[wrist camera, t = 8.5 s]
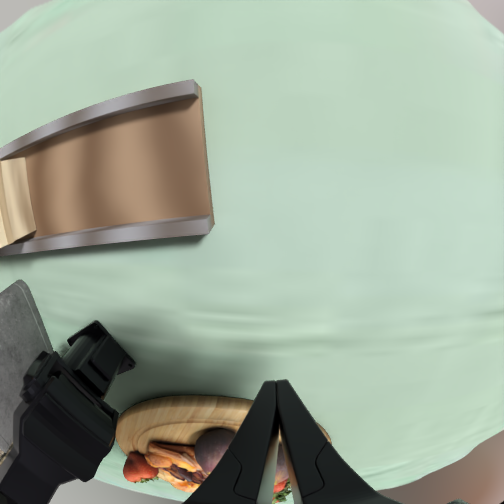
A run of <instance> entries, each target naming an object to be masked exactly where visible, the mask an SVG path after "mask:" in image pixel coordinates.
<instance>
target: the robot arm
mask: <svg viewBox="0 0 504 504" xmlns="http://www.w3.org/2000/svg"><path fill="white" fill-rule="evenodd" d="M96 325H97V326H96ZM67 342H68V343H69V345H70V346H71V348H70V349H69V350H68V351H67V353H66V354H65V355H64V357H63V358H62V359H61V358H60V357H59V354H58V353H57V352H56V351H55V352H53V353H52V354H50V353H47V352H45V351H42V352H41V353H40V354H39V355H38V356H37V357H36V359H35V360H34V361H33V362H32V364H31V365H30V367H29V368H28V370H27V372H26V373H25V375H24V377H23V386H22V389H21V392H20V394H19V396H20V397H21V398H22V399H23V400H22V401H21V403H20V404H19V405H18V407H17V408H16V410H15V411H14V413H13V447H12V449H11V450H10V452H9V453H8V455H7V457H6V458H5V460H4V461H3V463H2V464H1V466H0V504H49V502H50V500H51V499H52V497H53V495H54V493H55V492H56V490H57V488H58V487H59V486H60V485H61V484H64V483H67V482H70V481H73V480H76V479H80V480H81V481H83V482H87V481H89V480H90V479H92V478H93V477H94V475H95V473H96V471H97V469H98V467H99V465H100V463H101V461H102V460H103V458H104V457H105V456H106V455H107V454H108V453H109V452H110V451H111V449H112V447H113V445H114V441H115V435H116V428H117V421H118V415H119V413H118V412H117V411H116V410H115V409H113V408H111V407H110V406H109V405H108V404H107V403H106V402H104V401H103V400H104V398H105V396H106V394H107V392H108V390H109V389H110V387H111V385H112V383H113V381H114V379H115V377H116V375H118V374H121V373H123V372H126V371H128V370H131V369H133V368H134V367H135V365H136V363H135V362H134V360H133V359H132V358H131V357H130V356H129V355H128V354H127V353H126V352H125V351H124V350H123V349H122V348H121V347H120V345H119V344H118V343H117V342H116V341H115V340H114V339H113V338H112V337H111V335H110V334H109V333H108V332H107V331H106V330H105V328H104V327H103V326H102V325H101V324H100V323H99V322H98V321H96V320H95V321H93V322H92V323H90V324H89V325H87V326H86V327H84V328H83V329H81V330H80V331H78V332H77V333H75V334H74V335H72V336H71V337H69V338H68V340H67ZM279 429H280V437H281V442H282V447H283V451H284V456H285V461H286V466H287V471H288V476H289V480H290V485H291V490H292V495H293V499H294V504H403V503H401V502H398V501H395V500H393V499H390V498H388V497H386V496H383V495H381V494H380V493H378V492H377V491H375V490H374V489H373V488H372V487H371V486H369V485H368V484H367V483H366V482H365V481H364V480H363V479H362V478H361V477H360V476H359V475H358V474H357V473H356V472H355V471H354V470H353V469H352V468H351V467H350V466H349V465H348V464H347V463H346V462H345V461H344V460H343V459H342V458H341V456H340V455H339V454H338V452H337V451H336V450H335V449H334V447H333V446H332V444H331V443H330V442H329V441H328V439H327V437H326V436H325V434H324V433H323V432H322V430H321V429H320V427H319V426H318V424H317V423H316V421H315V420H314V418H313V417H312V416H311V414H310V413H309V411H308V410H307V408H306V407H305V405H304V404H303V402H302V401H301V399H300V398H299V396H298V395H297V393H296V392H295V390H294V389H293V387H292V386H291V384H290V383H289V381H288V380H287V379H283V380H277V381H274V380H272V381H265V382H264V383H263V385H262V387H261V389H260V391H259V392H258V394H257V396H256V398H255V400H254V402H253V404H252V405H251V407H250V409H249V411H248V413H247V415H246V416H245V418H244V420H243V422H242V424H241V425H240V427H239V429H238V431H237V432H236V434H235V436H234V438H233V439H232V441H231V443H230V444H229V446H228V449H226V451H225V453H224V454H223V456H222V458H221V459H220V461H219V462H218V464H217V465H216V466H215V468H214V469H213V470H212V472H211V473H210V474H209V475H208V477H207V478H206V479H205V480H204V481H203V482H202V483H201V485H200V486H199V487H198V488H197V489H196V490H195V491H194V492H193V493H192V495H191V496H190V497H189V498H188V499H187V500H186V501H185V502H184V503H182V504H272V499H273V491H274V482H275V473H276V464H277V455H278V444H279ZM447 504H469V503H467V502H465V501H463V500H461V499H457V500H454V501H452V502H449V503H447ZM500 504H504V501H503V502H501V503H500Z"/></svg>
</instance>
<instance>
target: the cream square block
mask: <svg viewBox="0 0 504 504" xmlns="http://www.w3.org/2000/svg"><path fill="white" fill-rule="evenodd" d="M35 230H36V225H35V221H34V216H33V211H32V205H31V199H30V193H29V187H28V179H27V171H26V161H25V157H23V158H16V159H10V160H4V161H1V160H0V248H2V247H4V246H6V245H9V244H11V243H13V242H14V241H15V240H17V239H19V238H21V237H23V236H25V235H27V234H29V233H31V232H33V231H35Z"/></svg>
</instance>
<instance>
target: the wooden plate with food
mask: <svg viewBox="0 0 504 504" xmlns="http://www.w3.org/2000/svg"><path fill="white" fill-rule="evenodd" d="M253 402H254V401H253V400H246V399H240V398H231V397H222V396H201V395H185V396H168V397H161V398H156V399H152V400H147V401H144V402H141V403H139V404H136V405H134V406H132V407H130V408H128V409H127V410H126V411H125V412H123V413H122V414H121V416H120V417H119V418H118V421H117V428H116V435H115V436H116V440H117V442H118V444H119V446H120V448H121V449H122V451H123V452H124V453H125V454H126V455H127V456H128V458H127V459H126V462H125V465H124V468H123V474H124V477H125V478H126V479H127V480H128V481H131V482H134V483H136V482H141V483H143V482H146V481H149V480H153V479H157V480H158V478H160V479H163V480H165V481H167V482H170V483H171V485H172V486H173V487H175V488H177V489H179V490H183V491H185V492H194V491H195V490H196V489H197V488H198V487H199V486H200V485H201V483H202V482H203V481H204V480H205V479H206V478H207V477H208V475H209V474H210V473H211V472H212V470H213V469H214V468H215V466H216V465H217V464H218V462H219V461H220V459H221V458H222V456H223V454H224V453H225V451H226V449H228V446H229V444H230V443H231V441H232V439H233V438H234V436H235V434H236V432H237V431H238V429H239V427H240V425H241V424H242V422H243V420H244V418H245V416H246V415H247V413H248V411H249V409H250V407H251V405H252V404H253ZM316 423H317V422H316ZM317 424H318V423H317ZM318 426H319V427H320V429H321V430H322V432H323V433H324V434H325V436H326V437H327V439H328V441H329V442H330V443H331V439H330V437H329V435H328V433H327V432H326V431H325V429H324V428H323V427H322V426H321V425H319V424H318ZM331 444H332V443H331ZM153 481H154V480H153ZM146 483H147V482H146ZM290 486H291V485H290V480H289V476H288V471H287V466H286V461H285V456H284V451H283V447H282V442H281V437H280V429H279V444H278V455H277V464H276V473H275V482H274V491H273V499H272V504H275V503H277V502H282V501H286V500H285V499H286V498H285V496H287V495H289V493H290V492H292V490H291V491H290V490H289V491H288V488H290ZM290 489H291V488H290Z"/></svg>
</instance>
